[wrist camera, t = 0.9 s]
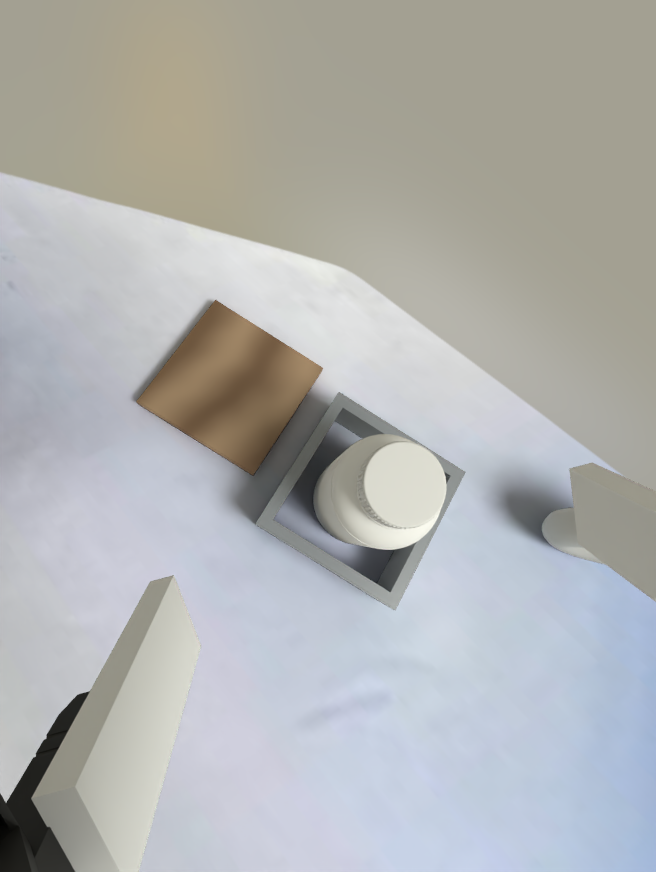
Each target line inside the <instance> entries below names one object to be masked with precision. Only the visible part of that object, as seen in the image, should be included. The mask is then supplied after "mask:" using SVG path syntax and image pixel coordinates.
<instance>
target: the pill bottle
mask: <svg viewBox="0 0 656 872" xmlns="http://www.w3.org/2000/svg"><path fill="white" fill-rule="evenodd" d="M446 487H447V484H446V477H445V473H444V471H443V468H442V467H441V464H440V463H439V461H438V460H437V459H436V457H435V456H434V455H433V454H432V453H431V452H430V451H429V450H427V449H426V448H424V447H423V446H420V445H419V444H416V443H414V442H412V441H411V440H408V439H406V438H403V437H400V436H397V435H391V434H378V435H372V436H369V437H366V438H363V439H361V440H359V441H357V442H356V443H354V444H353V445H351V446H350V447H349V448H348V449H347V450H345V451H344V452H343V453H342V454H341V455H340V456H339V457H338V458H336V459H335V460H334V461H333V462H332V463H331V464H330V465H329V466H328V467H326V468H325V470H324V471H323V472H322V473H321V475H320V476H319V478H318V480H317V483H316V485H315V489H314V496H313V503H314V509H315V513H316V516H317V518H318V520H319V522H320V524H321V525H322V526H323V528H324V529H325V530H326V531H327V532H328V533H329V534H330V535H332V536H333V537H334V538H336V539H338V540H340V541H342V542H345V543H349V544H355V545H360V546H365V547H371V548H376V549H383V550H393V549H400V548H404V547H407V546H409V545H412V544H414V543H415V542H417V541H419V540H420V539H421V538H423V537H424V536H425V535H426V534H427V533H428V532H429V531H430V529H431V528H432V527H433V525H434V524H435V522H436V520H437V518H438V516H439V514H440V511H441V508H442V506H443V505H442V504H443V503H444V500H445V496H446V490H447V489H446Z"/></svg>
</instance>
